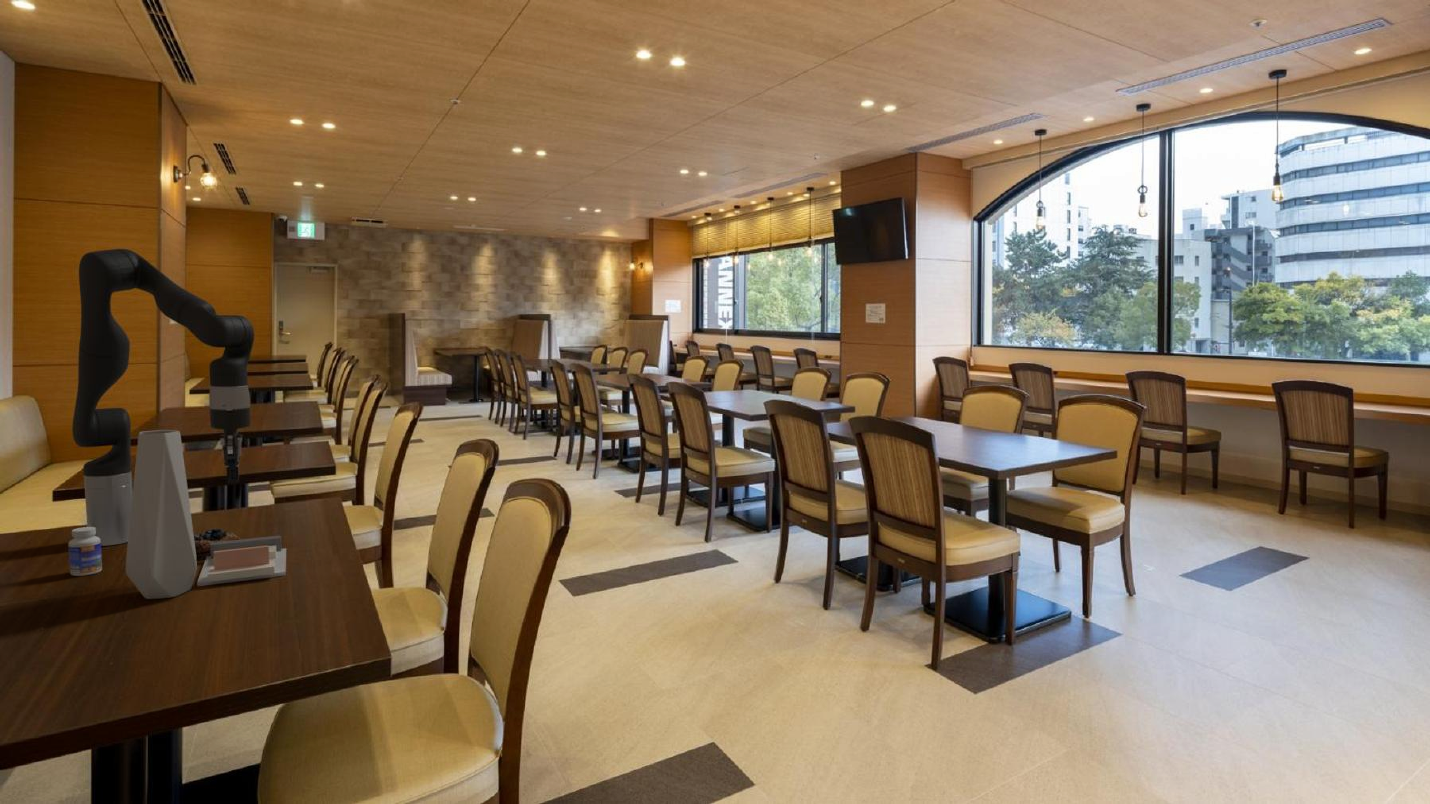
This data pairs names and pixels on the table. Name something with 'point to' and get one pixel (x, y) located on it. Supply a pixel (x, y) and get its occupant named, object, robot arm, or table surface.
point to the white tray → (272, 541)
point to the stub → (241, 563)
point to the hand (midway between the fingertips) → (233, 483)
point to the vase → (160, 519)
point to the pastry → (210, 541)
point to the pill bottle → (85, 552)
